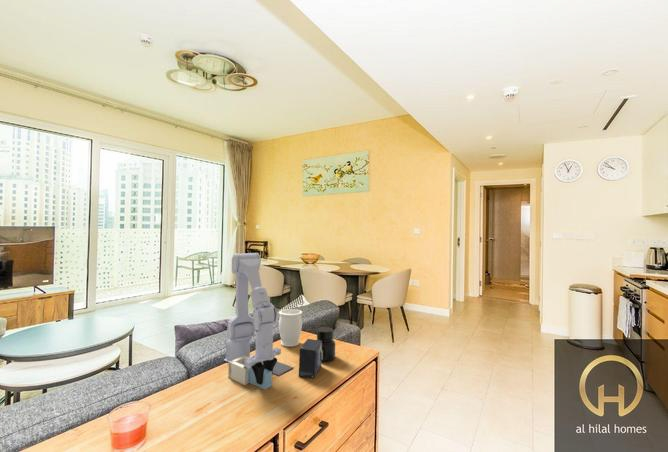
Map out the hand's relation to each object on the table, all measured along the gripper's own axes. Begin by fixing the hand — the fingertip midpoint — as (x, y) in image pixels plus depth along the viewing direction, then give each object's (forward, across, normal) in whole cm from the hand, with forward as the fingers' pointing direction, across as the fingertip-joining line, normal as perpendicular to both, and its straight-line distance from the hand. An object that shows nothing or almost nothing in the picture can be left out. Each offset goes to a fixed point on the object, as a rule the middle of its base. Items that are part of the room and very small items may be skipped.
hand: (263, 381), depth 109 cm
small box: (+2, +18, -6) cm, 19 cm away
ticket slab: (+1, 0, +3) cm, 3 cm away
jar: (+2, +34, +19) cm, 39 cm away
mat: (+1, +12, +8) cm, 14 cm away
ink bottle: (+2, +31, -3) cm, 31 cm away
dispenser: (+1, 0, +10) cm, 10 cm away
